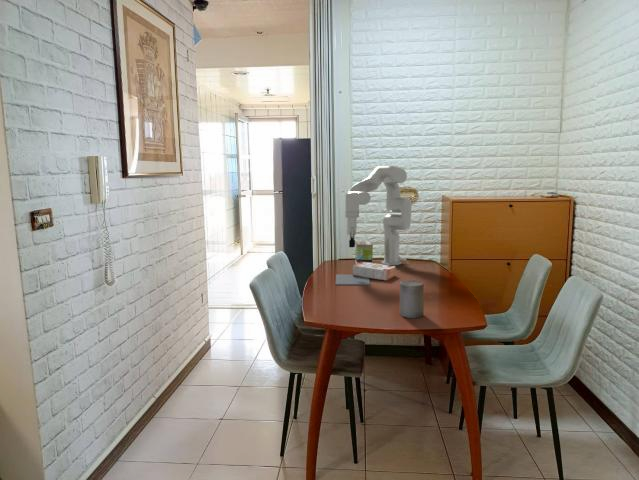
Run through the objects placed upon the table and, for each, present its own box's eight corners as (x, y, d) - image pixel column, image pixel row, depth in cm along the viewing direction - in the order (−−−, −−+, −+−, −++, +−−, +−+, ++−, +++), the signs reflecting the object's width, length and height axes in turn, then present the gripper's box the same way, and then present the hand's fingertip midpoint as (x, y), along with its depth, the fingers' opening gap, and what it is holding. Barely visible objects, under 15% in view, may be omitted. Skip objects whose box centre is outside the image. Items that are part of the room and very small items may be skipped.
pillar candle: (420, 311, 199) (420, 276, 196) (426, 318, 189) (426, 281, 187) (397, 311, 198) (397, 277, 196) (402, 318, 189) (402, 282, 187)
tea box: (372, 267, 288) (373, 244, 285) (356, 268, 288) (356, 244, 286) (370, 263, 303) (370, 240, 300) (355, 263, 303) (355, 240, 301)
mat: (367, 275, 266) (367, 274, 266) (370, 285, 244) (370, 284, 244) (336, 275, 267) (336, 274, 267) (335, 285, 245) (335, 284, 245)
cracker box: (362, 260, 274) (396, 266, 264) (361, 270, 275) (395, 276, 265) (352, 264, 262) (387, 270, 252) (351, 275, 263) (386, 281, 253)
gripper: (345, 213, 268) (345, 245, 271) (345, 215, 254) (345, 249, 256) (358, 213, 268) (358, 245, 271) (359, 215, 253) (359, 249, 256)
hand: (352, 247), depth 264 cm, fingers closed
